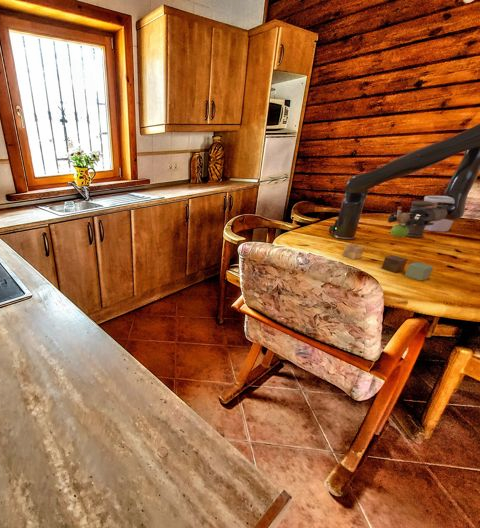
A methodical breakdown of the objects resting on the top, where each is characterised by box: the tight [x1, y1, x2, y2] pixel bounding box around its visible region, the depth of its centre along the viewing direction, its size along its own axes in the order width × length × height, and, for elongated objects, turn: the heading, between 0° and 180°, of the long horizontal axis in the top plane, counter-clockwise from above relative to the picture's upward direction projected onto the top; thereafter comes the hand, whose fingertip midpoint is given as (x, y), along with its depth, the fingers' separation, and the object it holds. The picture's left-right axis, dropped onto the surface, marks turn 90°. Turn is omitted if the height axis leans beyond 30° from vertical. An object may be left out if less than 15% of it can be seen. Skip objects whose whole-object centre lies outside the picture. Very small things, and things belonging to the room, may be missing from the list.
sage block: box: [404, 261, 434, 282], centre depth 106 cm, size 5×5×5 cm
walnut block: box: [381, 254, 409, 274], centre depth 113 cm, size 5×5×5 cm
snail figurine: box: [390, 206, 410, 239], centre depth 113 cm, size 5×6×12 cm
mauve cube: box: [342, 243, 365, 260], centre depth 127 cm, size 5×5×5 cm
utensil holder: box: [423, 195, 455, 233], centre depth 155 cm, size 15×15×18 cm
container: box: [405, 200, 434, 239], centre depth 147 cm, size 9×9×18 cm
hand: (398, 221), depth 112 cm, fingers closed on snail figurine, 5 cm apart
